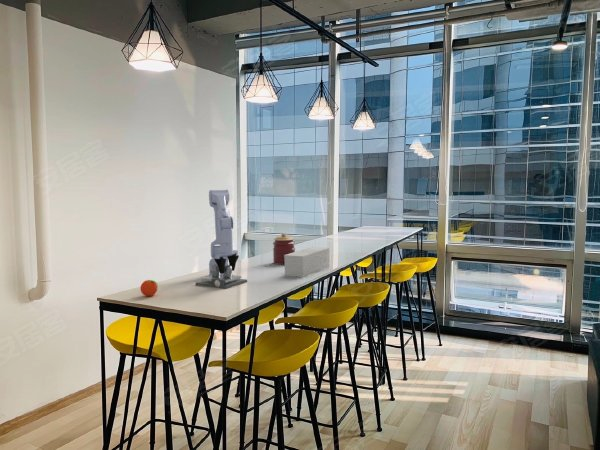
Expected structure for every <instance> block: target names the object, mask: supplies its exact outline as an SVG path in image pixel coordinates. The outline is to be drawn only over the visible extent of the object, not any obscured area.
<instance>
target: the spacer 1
mask: <svg viewBox="0 0 600 450" xmlns="http://www.w3.org/2000/svg"><path fill="white" fill-rule="evenodd" d="M211 267H212V277H220V272H219V268H218V265H217V264H214V265H211Z"/></svg>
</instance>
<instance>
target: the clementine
mask: <svg viewBox="0 0 600 450" xmlns="http://www.w3.org/2000/svg"><path fill="white" fill-rule="evenodd" d="M158 286H159V285H158V282H156V281H155V280H152V279H148V280H146V279H145V280H144V281H143V282H142V283H141V285H140V289H139V290H140V292H141V294H142V295H143V296H145V297H152V296H154V295H155V294H156V293H157V292H158Z"/></svg>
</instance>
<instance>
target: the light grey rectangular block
mask: <svg viewBox="0 0 600 450" xmlns="http://www.w3.org/2000/svg"><path fill="white" fill-rule="evenodd" d="M284 262H285V264H284V276H287V277H298V278H299V277H300V278H304V277H308V276H309V275H312V274H315V273H317V272H320V271H323V270H324V269H327V268H330V247H317V246H315V247H314V246H311V247H308V248H303V249H300V250H297V251H295V252H293V253H290V254H287V255H284Z"/></svg>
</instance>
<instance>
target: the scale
mask: <svg viewBox="0 0 600 450" xmlns="http://www.w3.org/2000/svg"><path fill="white" fill-rule="evenodd" d="M245 283H248V279H245V278H240V279H236V280H233V281H230V282H227V283H225V280H221V279H211V281H204V280H200V281H196V282H195V286H200V287H208V288H216V289H225V290H227V289H231V288H234V287H236V286H239V285H242V284H245Z"/></svg>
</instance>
